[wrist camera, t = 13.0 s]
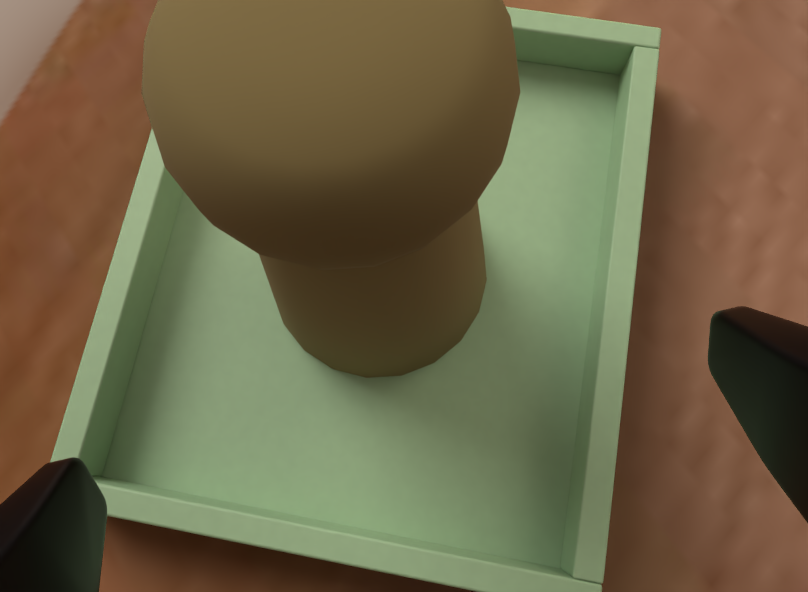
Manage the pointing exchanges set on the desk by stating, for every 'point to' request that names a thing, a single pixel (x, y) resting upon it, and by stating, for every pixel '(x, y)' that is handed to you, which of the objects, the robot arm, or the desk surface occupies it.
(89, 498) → the robot arm
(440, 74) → the olive brown pawn
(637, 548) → the desk surface
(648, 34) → the tray
